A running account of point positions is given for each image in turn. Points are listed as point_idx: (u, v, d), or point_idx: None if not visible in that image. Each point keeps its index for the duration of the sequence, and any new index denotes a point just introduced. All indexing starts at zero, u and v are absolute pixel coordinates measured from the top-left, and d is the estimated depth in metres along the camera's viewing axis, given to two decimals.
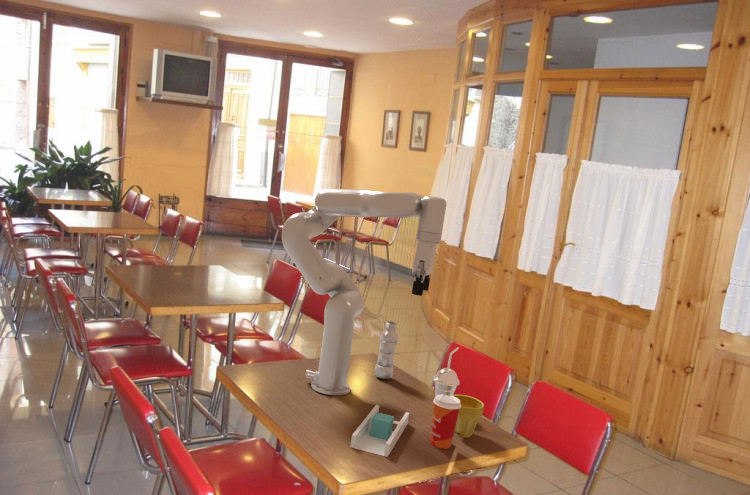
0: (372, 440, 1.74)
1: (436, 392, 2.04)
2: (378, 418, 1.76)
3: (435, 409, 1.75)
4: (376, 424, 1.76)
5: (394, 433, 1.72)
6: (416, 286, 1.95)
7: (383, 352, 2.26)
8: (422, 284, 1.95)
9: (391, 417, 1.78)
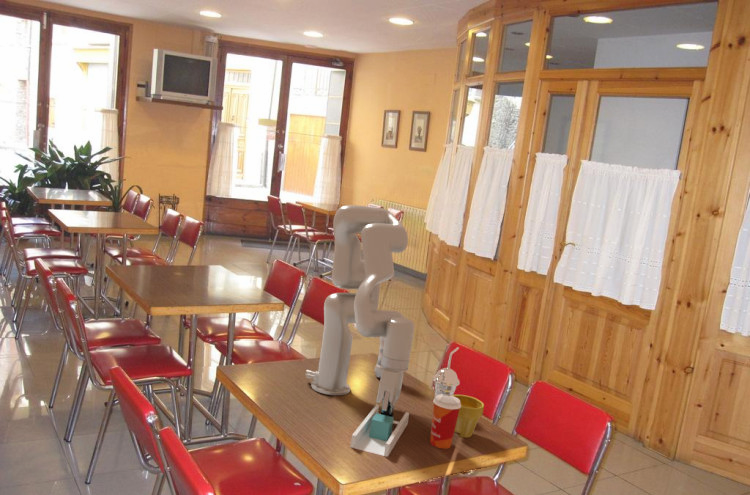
0: (372, 440, 1.74)
1: (436, 392, 2.04)
2: (378, 419, 1.75)
3: (435, 409, 1.75)
4: (376, 425, 1.75)
5: (394, 433, 1.72)
6: None
7: None
8: (390, 415, 1.81)
9: (391, 418, 1.78)
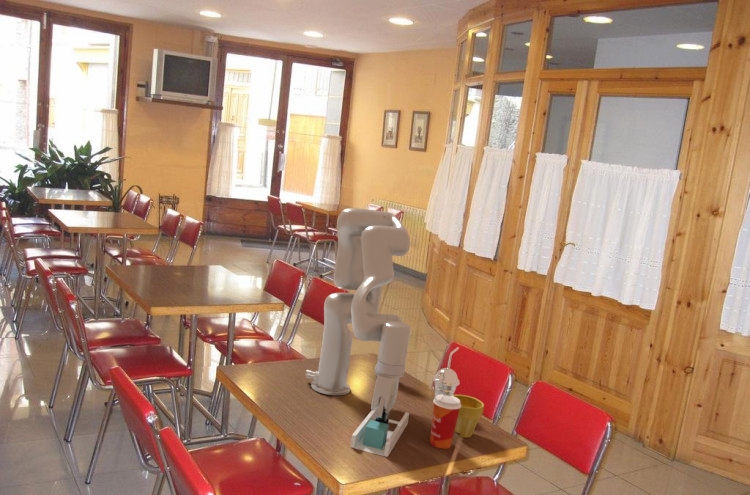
0: None
1: (436, 392, 2.04)
2: (372, 426, 1.70)
3: (435, 409, 1.75)
4: (370, 432, 1.69)
5: (394, 433, 1.72)
6: None
7: None
8: (385, 422, 1.75)
9: (385, 425, 1.72)
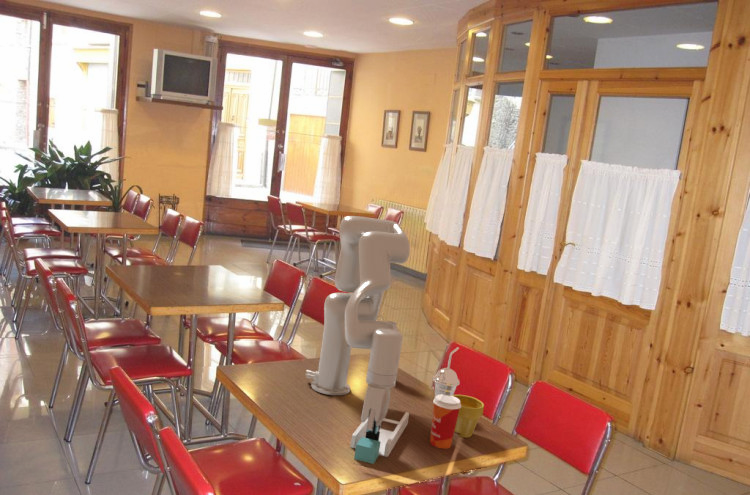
0: None
1: (436, 392, 2.04)
2: None
3: (435, 409, 1.75)
4: None
5: (394, 433, 1.72)
6: (369, 437, 1.66)
7: None
8: (376, 435, 1.66)
9: (373, 453, 1.60)
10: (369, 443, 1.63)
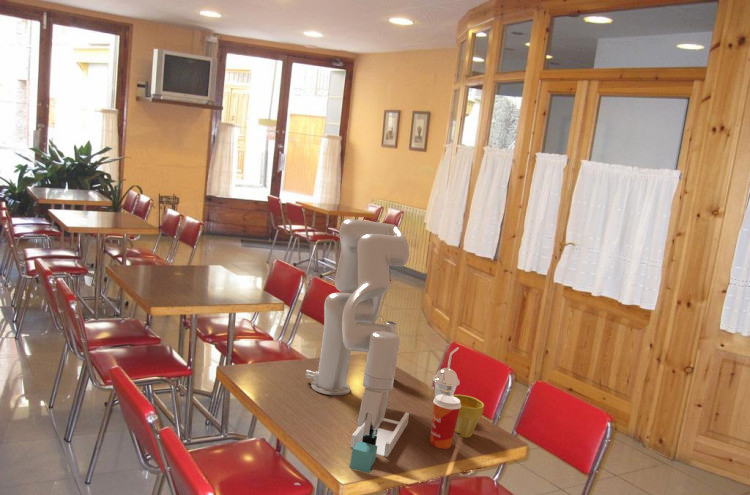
0: None
1: (436, 392, 2.04)
2: (356, 466, 1.59)
3: (435, 409, 1.75)
4: None
5: (394, 433, 1.72)
6: (366, 442, 1.63)
7: None
8: (373, 439, 1.64)
9: (369, 457, 1.57)
10: (366, 447, 1.60)
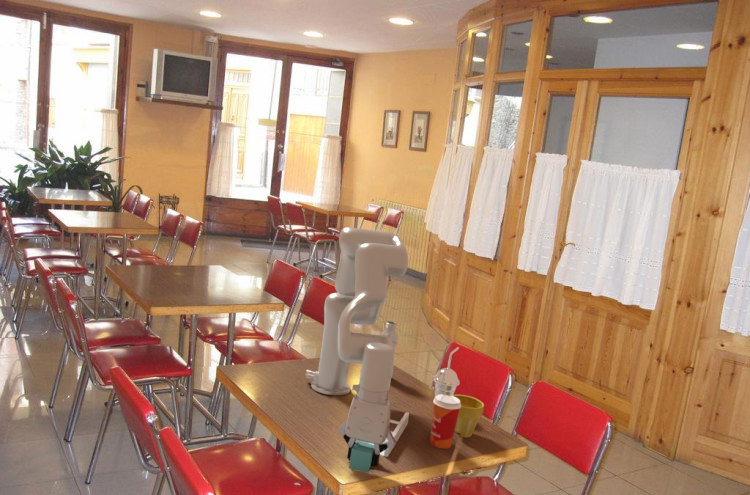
0: None
1: (436, 392, 2.04)
2: (355, 465, 1.59)
3: (435, 409, 1.75)
4: None
5: (394, 433, 1.72)
6: (378, 458, 1.60)
7: None
8: None
9: (368, 457, 1.57)
10: (365, 447, 1.60)
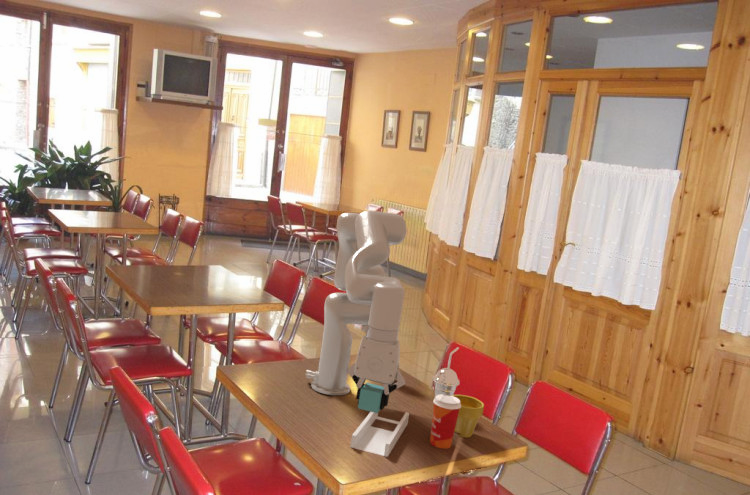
0: (372, 440, 1.74)
1: (436, 392, 2.04)
2: (364, 406, 1.57)
3: (435, 409, 1.75)
4: None
5: (394, 433, 1.72)
6: (387, 399, 1.58)
7: None
8: None
9: (377, 397, 1.56)
10: (374, 388, 1.59)
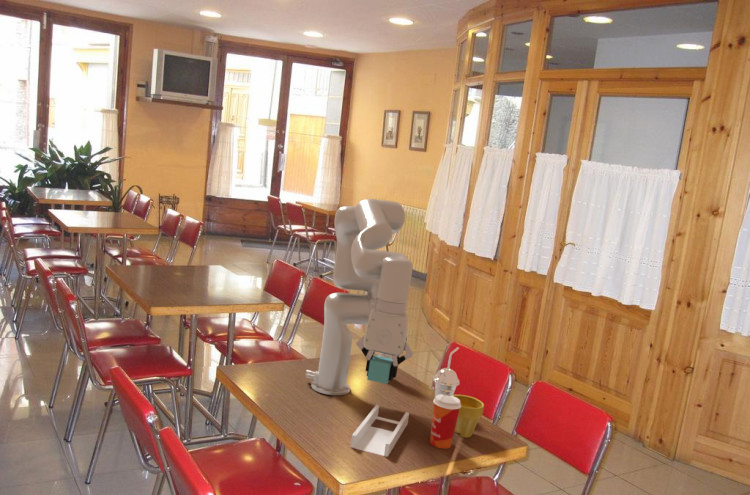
0: (372, 440, 1.74)
1: (436, 392, 2.04)
2: (373, 377, 1.61)
3: (435, 409, 1.75)
4: None
5: (394, 433, 1.72)
6: (396, 370, 1.62)
7: None
8: None
9: (387, 368, 1.60)
10: (383, 360, 1.63)
